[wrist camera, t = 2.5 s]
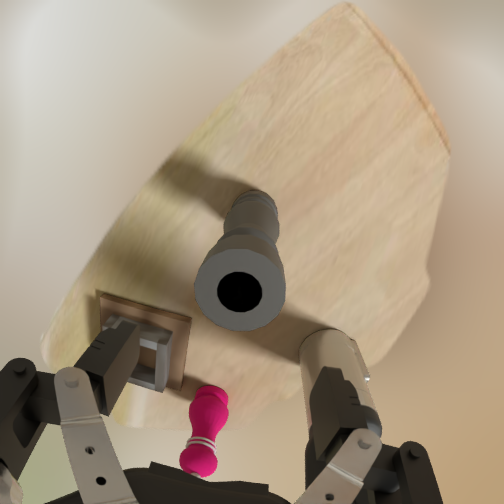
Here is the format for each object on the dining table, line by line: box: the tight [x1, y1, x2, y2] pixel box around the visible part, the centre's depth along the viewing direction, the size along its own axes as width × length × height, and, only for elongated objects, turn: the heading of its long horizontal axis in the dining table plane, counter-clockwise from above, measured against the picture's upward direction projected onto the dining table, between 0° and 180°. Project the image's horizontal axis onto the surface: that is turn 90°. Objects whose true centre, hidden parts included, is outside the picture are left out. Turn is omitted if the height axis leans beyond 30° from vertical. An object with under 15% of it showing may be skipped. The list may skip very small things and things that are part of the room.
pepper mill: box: [179, 386, 229, 479], centre depth 44 cm, size 7×7×20 cm
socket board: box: [100, 293, 192, 393], centre depth 48 cm, size 16×16×6 cm
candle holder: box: [194, 190, 286, 331], centre depth 30 cm, size 6×6×25 cm
